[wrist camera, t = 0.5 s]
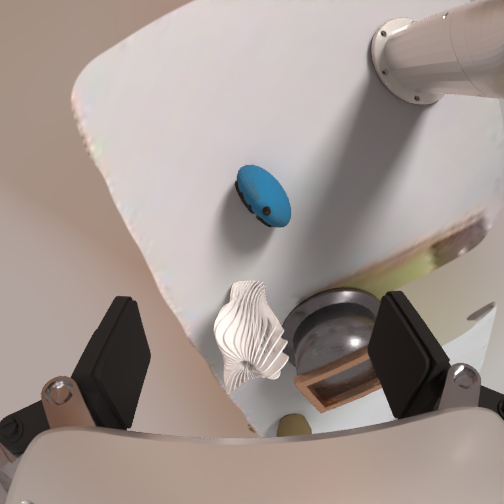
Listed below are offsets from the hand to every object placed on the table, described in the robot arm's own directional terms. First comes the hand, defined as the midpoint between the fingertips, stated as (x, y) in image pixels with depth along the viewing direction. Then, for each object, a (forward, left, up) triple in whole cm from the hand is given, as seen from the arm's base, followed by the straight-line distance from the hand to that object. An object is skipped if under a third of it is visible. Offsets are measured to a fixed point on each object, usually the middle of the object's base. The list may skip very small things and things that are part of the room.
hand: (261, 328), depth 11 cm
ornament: (+1, +3, -29) cm, 30 cm away
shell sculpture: (+10, +16, -29) cm, 35 cm away
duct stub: (+2, +31, -29) cm, 42 cm away
